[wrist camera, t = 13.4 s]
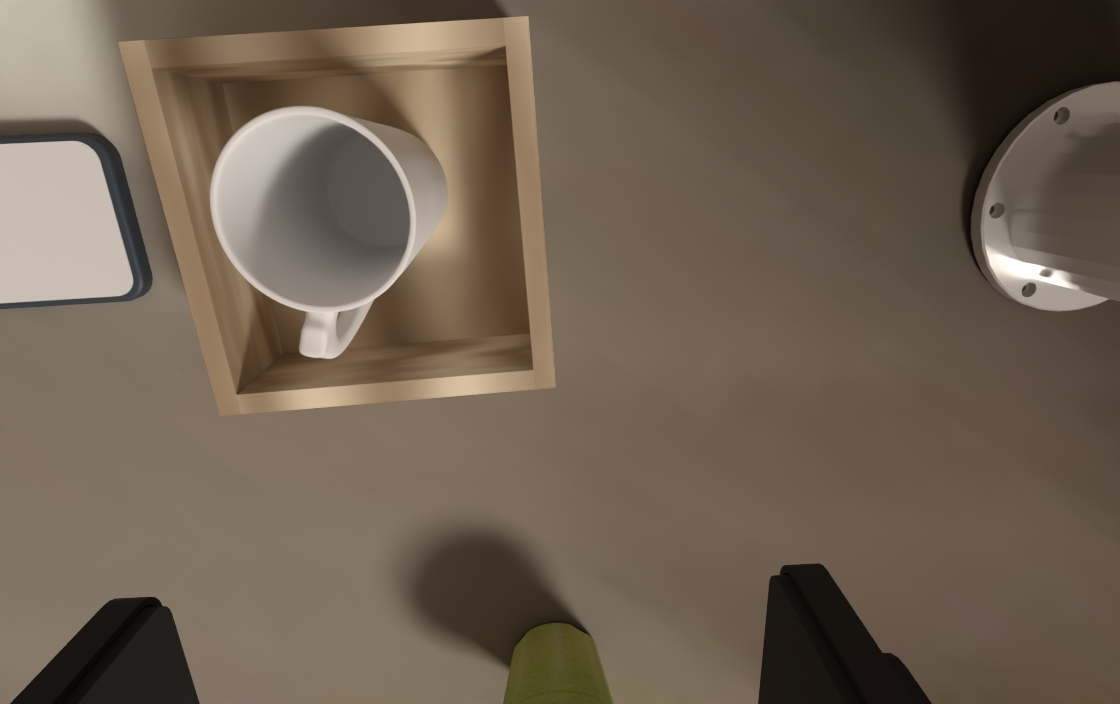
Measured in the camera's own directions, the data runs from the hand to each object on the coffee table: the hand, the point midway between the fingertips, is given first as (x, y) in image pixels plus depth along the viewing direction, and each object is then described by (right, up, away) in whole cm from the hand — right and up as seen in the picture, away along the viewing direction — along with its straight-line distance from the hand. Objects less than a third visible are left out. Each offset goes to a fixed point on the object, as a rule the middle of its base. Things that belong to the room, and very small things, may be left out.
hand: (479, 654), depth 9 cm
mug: (-8, +12, +23) cm, 27 cm away
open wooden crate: (-8, +12, +23) cm, 28 cm away
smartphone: (-29, +12, +23) cm, 39 cm away
